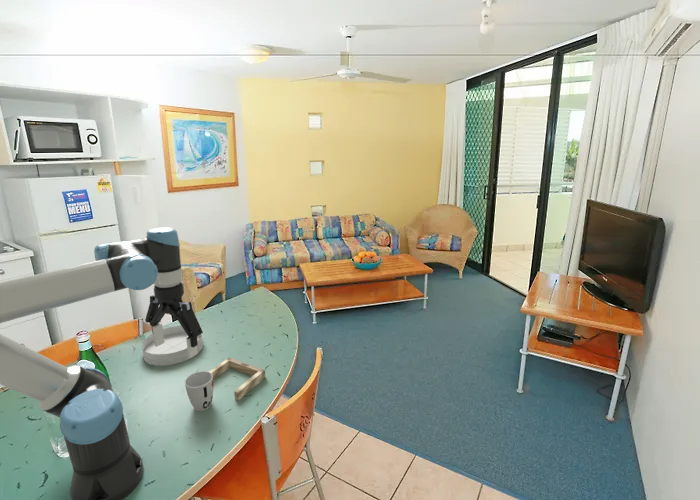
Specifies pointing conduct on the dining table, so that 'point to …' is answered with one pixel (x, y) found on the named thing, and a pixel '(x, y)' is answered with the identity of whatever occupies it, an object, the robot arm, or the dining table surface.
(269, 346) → the dining table surface
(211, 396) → the cup
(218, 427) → the dining table surface
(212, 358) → the dining table surface
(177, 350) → the dish
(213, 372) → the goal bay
